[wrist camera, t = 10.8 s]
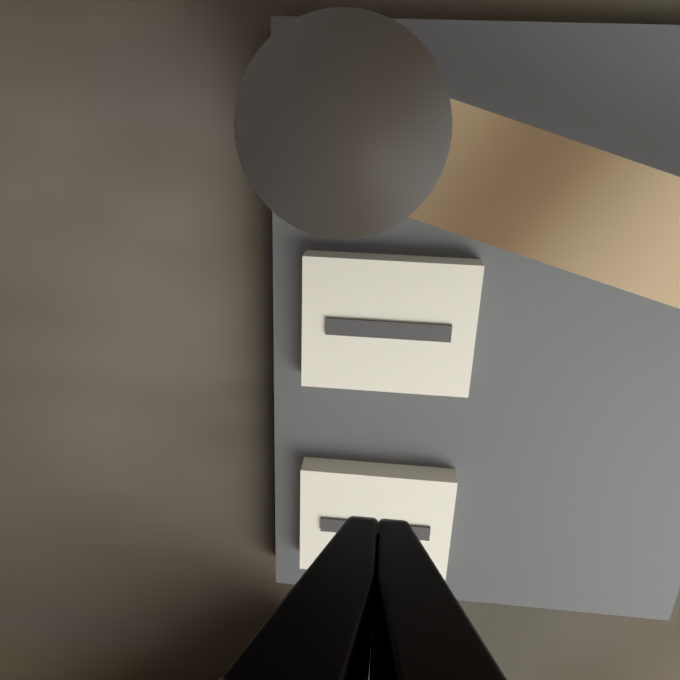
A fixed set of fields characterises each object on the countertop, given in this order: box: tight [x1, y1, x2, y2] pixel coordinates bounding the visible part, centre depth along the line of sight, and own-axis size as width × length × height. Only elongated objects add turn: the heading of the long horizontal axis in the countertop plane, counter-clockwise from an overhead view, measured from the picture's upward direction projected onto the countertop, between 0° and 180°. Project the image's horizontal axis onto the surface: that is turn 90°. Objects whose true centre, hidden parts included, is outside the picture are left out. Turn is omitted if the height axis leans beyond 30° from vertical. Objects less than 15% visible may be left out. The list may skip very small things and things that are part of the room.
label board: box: [270, 16, 680, 620], centre depth 17 cm, size 14×18×5 cm
